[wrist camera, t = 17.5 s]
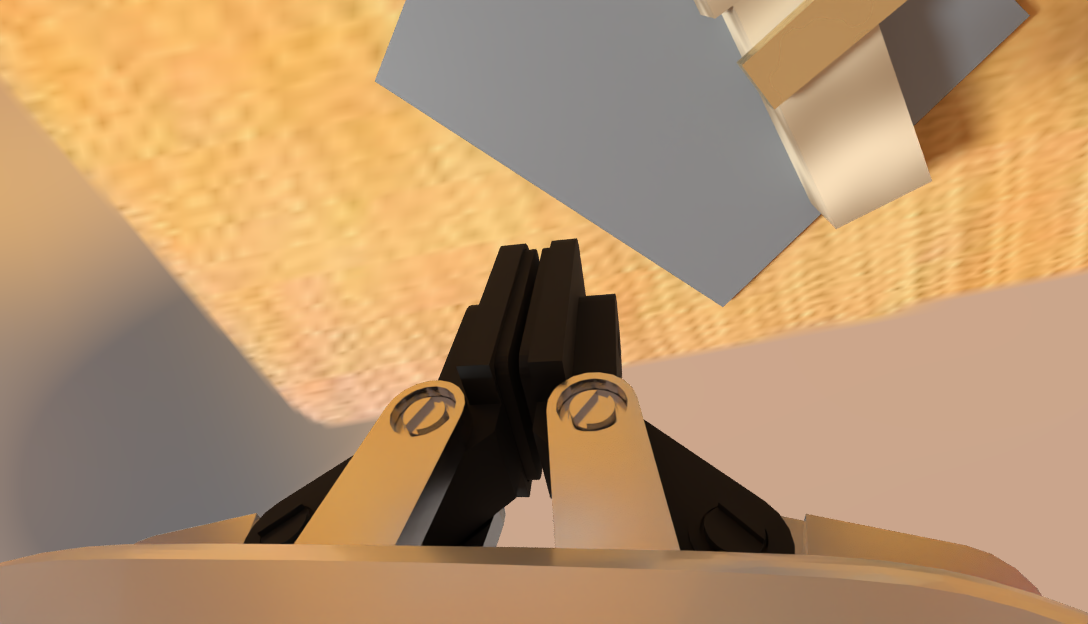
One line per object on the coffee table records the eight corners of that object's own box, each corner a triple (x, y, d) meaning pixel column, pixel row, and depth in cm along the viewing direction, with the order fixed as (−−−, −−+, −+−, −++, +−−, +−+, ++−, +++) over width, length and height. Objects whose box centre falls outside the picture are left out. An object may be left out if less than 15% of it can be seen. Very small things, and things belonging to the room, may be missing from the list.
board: (577, -427, 17) (576, -444, 17) (1017, 14, 23) (1030, 15, 22) (380, 79, 27) (374, 81, 27) (720, 300, 33) (722, 307, 32)
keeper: (717, 52, 24) (741, 65, 20) (848, -71, 21) (908, -85, 17) (745, 89, 25) (774, 109, 21) (875, -24, 22) (939, -27, 18)
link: (636, -116, 21) (641, -134, 18) (773, -241, 19) (805, -284, 16) (797, 210, 28) (820, 236, 25) (910, 150, 26) (951, 171, 23)
